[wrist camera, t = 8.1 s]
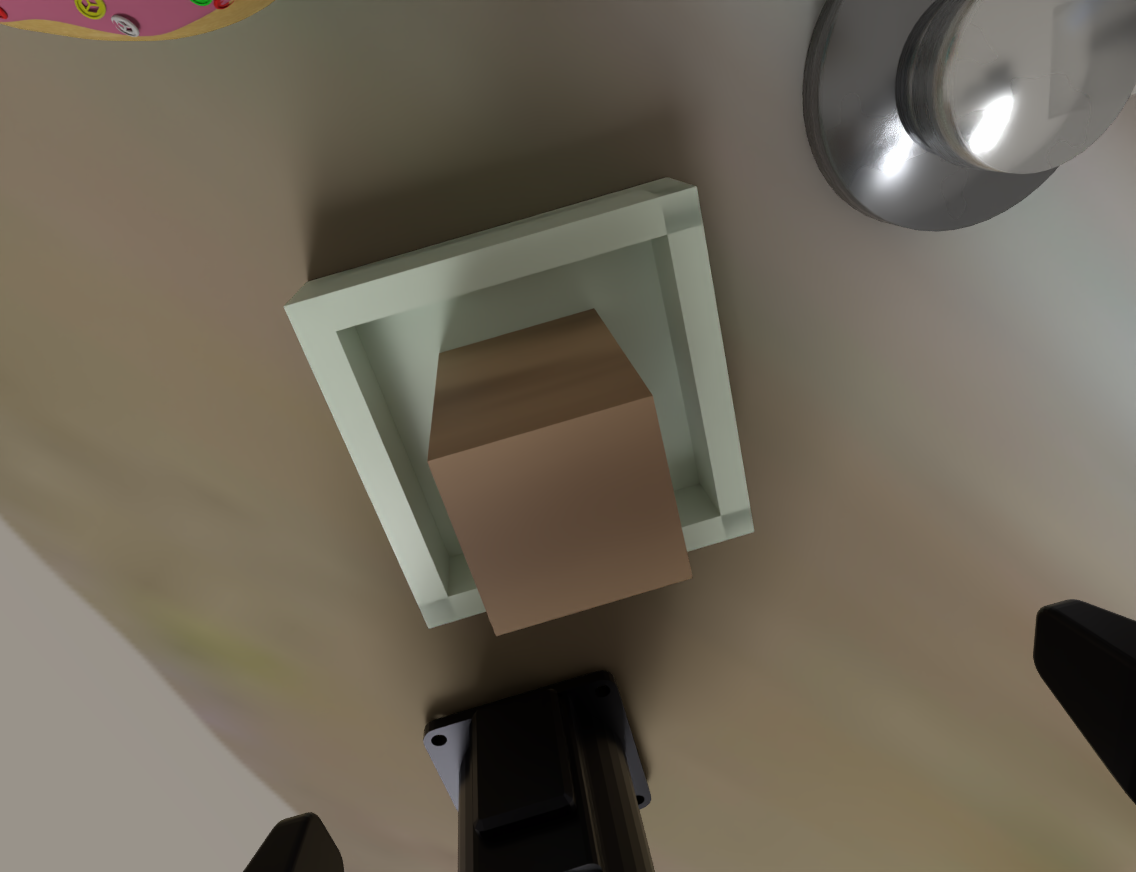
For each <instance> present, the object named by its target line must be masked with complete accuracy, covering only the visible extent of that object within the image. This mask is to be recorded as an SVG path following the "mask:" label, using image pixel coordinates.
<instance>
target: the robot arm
mask: <svg viewBox="0 0 1136 872" xmlns="http://www.w3.org/2000/svg"><path fill="white" fill-rule="evenodd" d="M1033 658H1034V663H1035V666H1036V669H1037V671H1038V673H1039V675H1040V676H1041V678H1042V679H1043V681H1044V682H1045V683H1046V685H1047V686H1048V688H1049V689H1050V690H1051V692H1052V693H1053V694H1054V696H1055V697H1056V699H1057V700H1058V701H1059V703H1060V704H1061V705H1062V707H1063V708H1064V710H1065V711H1066V712H1067V714H1068V715H1069V716H1070V718H1071V719H1072V721H1073V722H1074V723H1075V725H1076V726H1077V728H1078V729H1079V730H1080V732H1081V733H1082V734H1083V736H1084V737H1085V739H1086V740H1087V741H1088V743H1089V744H1090V745H1091V747H1092V748H1093V750H1094V751H1095V752H1096V754H1097V755H1098V756H1099V758H1100V759H1101V761H1102V762H1103V763H1104V765H1105V766H1106V767H1107V769H1108V770H1109V772H1110V773H1111V774H1112V776H1113V777H1114V778H1115V780H1116V781H1117V782H1118V783H1119V785H1120V786H1121V787H1122V789H1123V790H1124V791H1125V793H1126V794H1127V795H1128V796H1129V797H1130V799H1131V800H1132V801H1133V802H1134V803H1135V805H1136V621H1135V620H1132V619H1129V618H1126V617H1124V616H1121V615H1118V614H1116V613H1113V612H1110V611H1108V610H1105V609H1102V608H1100V607H1097V606H1094V605H1091V604H1089V603H1086V602H1083V601H1080V600H1075V599H1070V600H1065V601H1061V602H1057V603H1054V604H1050V605H1047V606H1044V607H1042V608H1041V609H1040V610H1039V611H1038V613H1037V616H1036V627H1035V638H1034V650H1033ZM603 685H605V687H603V688H597V687H599V686H603ZM435 735H443V736H435ZM423 741H424V745H425V747H426V749H427V751H428V753H429V755H430V757H431V759H432V761H433V763H434V765H435V767H436V769H437V771H438V773H439V775H440V777H441V779H442V781H443V783H444V785H445V787H446V789H447V791H448V793H449V795H450V797H451V799H452V801H453V803H454V805H455V807H456V809H457V811H458V872H655V870H654V866H653V862H652V858H651V854H650V850H649V846H648V842H647V838H646V834H645V830H644V826H643V822H642V818H641V814H640V810H639V809H642V808H644V807H646V806H647V805H648V804H649V803H650V801H651V794H650V791H649V787H648V784H647V781H646V777H645V774H644V771H643V768H642V764H641V761H640V758H639V755H638V751H637V748H636V745H635V742H634V738H633V735H632V732H631V729H630V725H629V722H628V719H627V716H626V712H625V709H624V706H623V703H622V700H621V696H620V693H619V690H618V687H617V683H616V680H615V677H614V676H613V674H611V673H610V672H608V671H597V672H593V673H590V674H587V675H583V676H580V677H577V678H573V679H570V680H567V681H563V682H560V683H557V684H553V685H550V686H547V687H543V688H540V689H537V690H533V691H530V692H527V693H523V694H520V695H517V696H513V697H510V698H507V699H503V700H500V701H496V702H493V703H490V704H486V705H483V706H480V707H476V708H473V709H470V710H466V711H463V712H460V713H456V714H453V715H450V716H446V717H443V718H440V719H436V720H434V721H431V722H429V723H428V724H427V725H426V726H425V729H424V738H423ZM243 872H344V867H343V861H342V857H341V854H340V852H339V850H338V848H337V846H336V845H335V843H334V841H333V840H332V838H331V836H330V835H329V833H328V831H327V830H326V828H325V826H324V824H323V823H322V821H321V819H320V818H319V817H318V815H316V814H314V813H312V812H308V813H304V814H301V815H297V816H294V817H290V818H286V819H284V820H282V821H280V822H279V823H278V824H277V825H276V826H275V827H274V828H273V829H272V831H271V832H270V833H269V835H268V836H267V838H266V839H265V841H264V842H263V844H262V845H261V847H260V848H259V849H258V851H257V852H256V854H255V855H254V857H253V858H252V859H251V861H250V863H249V864H248V865H247V867H246V868H245V870H244V871H243Z"/></svg>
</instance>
